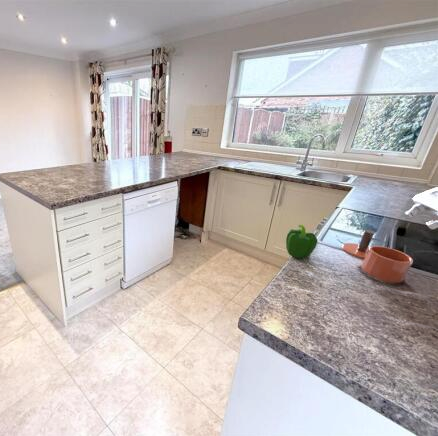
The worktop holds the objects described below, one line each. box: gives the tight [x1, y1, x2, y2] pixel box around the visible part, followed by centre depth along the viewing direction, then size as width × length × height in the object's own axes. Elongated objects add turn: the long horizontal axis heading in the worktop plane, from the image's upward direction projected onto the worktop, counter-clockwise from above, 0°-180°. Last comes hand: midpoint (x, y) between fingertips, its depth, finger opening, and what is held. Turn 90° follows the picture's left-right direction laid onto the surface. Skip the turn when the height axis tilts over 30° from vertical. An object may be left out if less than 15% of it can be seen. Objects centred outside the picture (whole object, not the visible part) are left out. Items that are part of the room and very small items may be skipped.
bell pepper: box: [285, 224, 318, 259], centre depth 79 cm, size 8×8×10 cm
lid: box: [342, 229, 375, 260], centre depth 82 cm, size 10×10×8 cm
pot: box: [360, 245, 414, 284], centre depth 71 cm, size 9×9×7 cm
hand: (417, 220), depth 76 cm, fingers open, 8 cm apart
